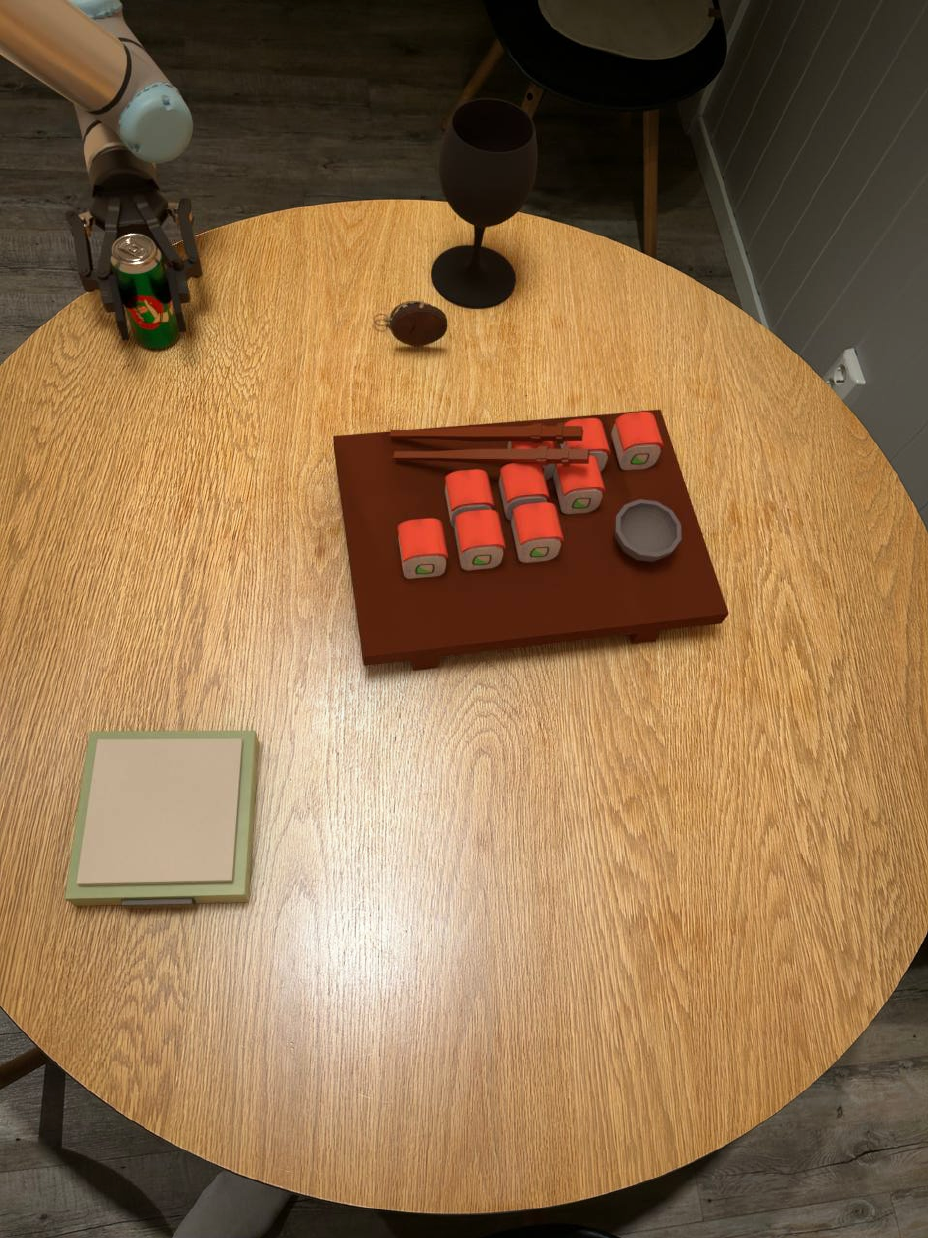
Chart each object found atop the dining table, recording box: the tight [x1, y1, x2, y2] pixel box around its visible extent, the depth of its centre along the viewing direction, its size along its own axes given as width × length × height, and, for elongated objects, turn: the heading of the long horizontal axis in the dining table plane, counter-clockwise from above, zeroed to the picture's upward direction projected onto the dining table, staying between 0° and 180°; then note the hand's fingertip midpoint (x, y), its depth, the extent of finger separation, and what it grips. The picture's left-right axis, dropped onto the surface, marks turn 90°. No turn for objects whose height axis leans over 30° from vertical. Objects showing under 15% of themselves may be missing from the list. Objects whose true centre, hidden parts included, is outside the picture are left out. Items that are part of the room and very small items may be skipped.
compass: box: [372, 299, 448, 346], centre depth 105 cm, size 8×8×7 cm
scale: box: [63, 730, 260, 910], centre depth 79 cm, size 14×14×4 cm
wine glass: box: [430, 97, 539, 310], centre depth 104 cm, size 10×10×20 cm
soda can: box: [110, 234, 181, 350], centre depth 99 cm, size 5×5×12 cm
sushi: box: [332, 409, 730, 672], centre depth 91 cm, size 25×35×12 cm
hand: (152, 325), depth 97 cm, fingers closed on soda can, 5 cm apart
